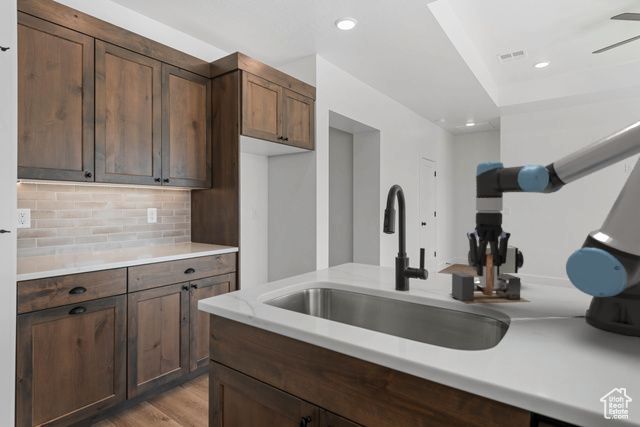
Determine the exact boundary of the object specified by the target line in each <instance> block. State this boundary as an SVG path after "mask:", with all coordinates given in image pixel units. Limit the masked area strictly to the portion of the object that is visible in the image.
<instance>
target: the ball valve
mask: <svg viewBox="0 0 640 427" xmlns="http://www.w3.org/2000/svg"><path fill="white" fill-rule="evenodd" d="M478 248H479V244H477V249H478ZM498 248H499V245H498ZM486 253H491V249H490V244H489V245H487V248H486ZM467 262H468V265H469V267H470V268H473V270H474V271H476V272H477V265H476V264H474V263H471V257H470V250H469V251H468V253H467ZM524 262H525V261H524V254H523V252H522V251H521V250H519V248H518V247H515V246H512V245H508V247H507V256H506V263H505V264H502V266H499V274H518V273H519V272H518V270H519V269H521V268H523V265H524Z"/></svg>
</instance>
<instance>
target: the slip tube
mask: <svg viewBox="0 0 640 427" xmlns="http://www.w3.org/2000/svg"><path fill="white" fill-rule="evenodd" d="M484 266H486V287H482V286H480V285H479V280H474V293H483V295H487V296H492V295H493V293H494V292H496V291H506V280H497V287H493V254H492V253H486V255H485V261H484ZM521 289H522V283H521V281H520V291H521Z"/></svg>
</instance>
